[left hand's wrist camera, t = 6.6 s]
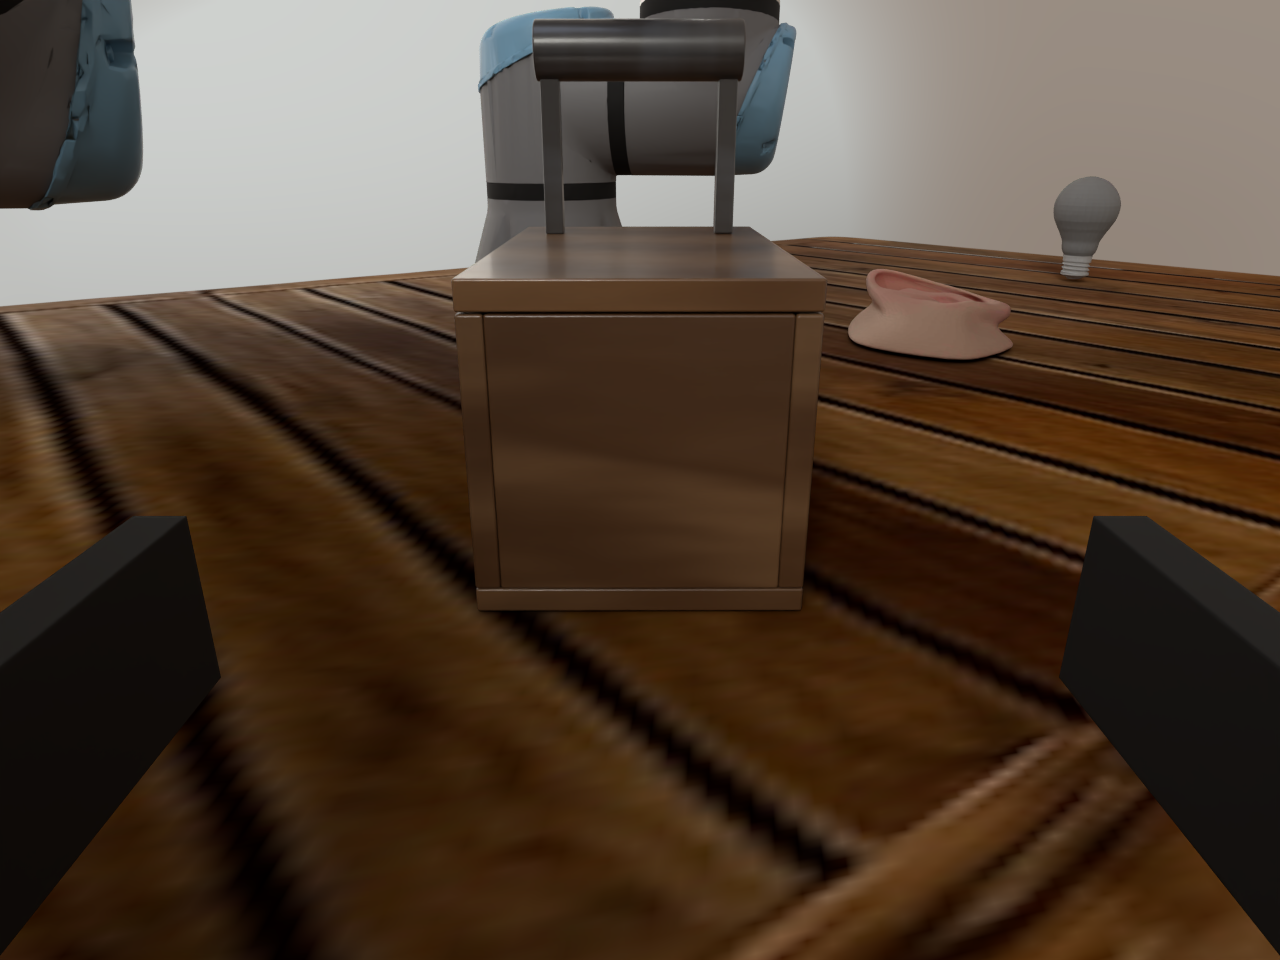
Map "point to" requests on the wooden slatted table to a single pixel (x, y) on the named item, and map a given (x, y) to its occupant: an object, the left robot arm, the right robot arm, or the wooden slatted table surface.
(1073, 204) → the light bulb
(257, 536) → the wooden slatted table surface
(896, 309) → the anatomical model
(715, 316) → the chest
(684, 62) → the lid
